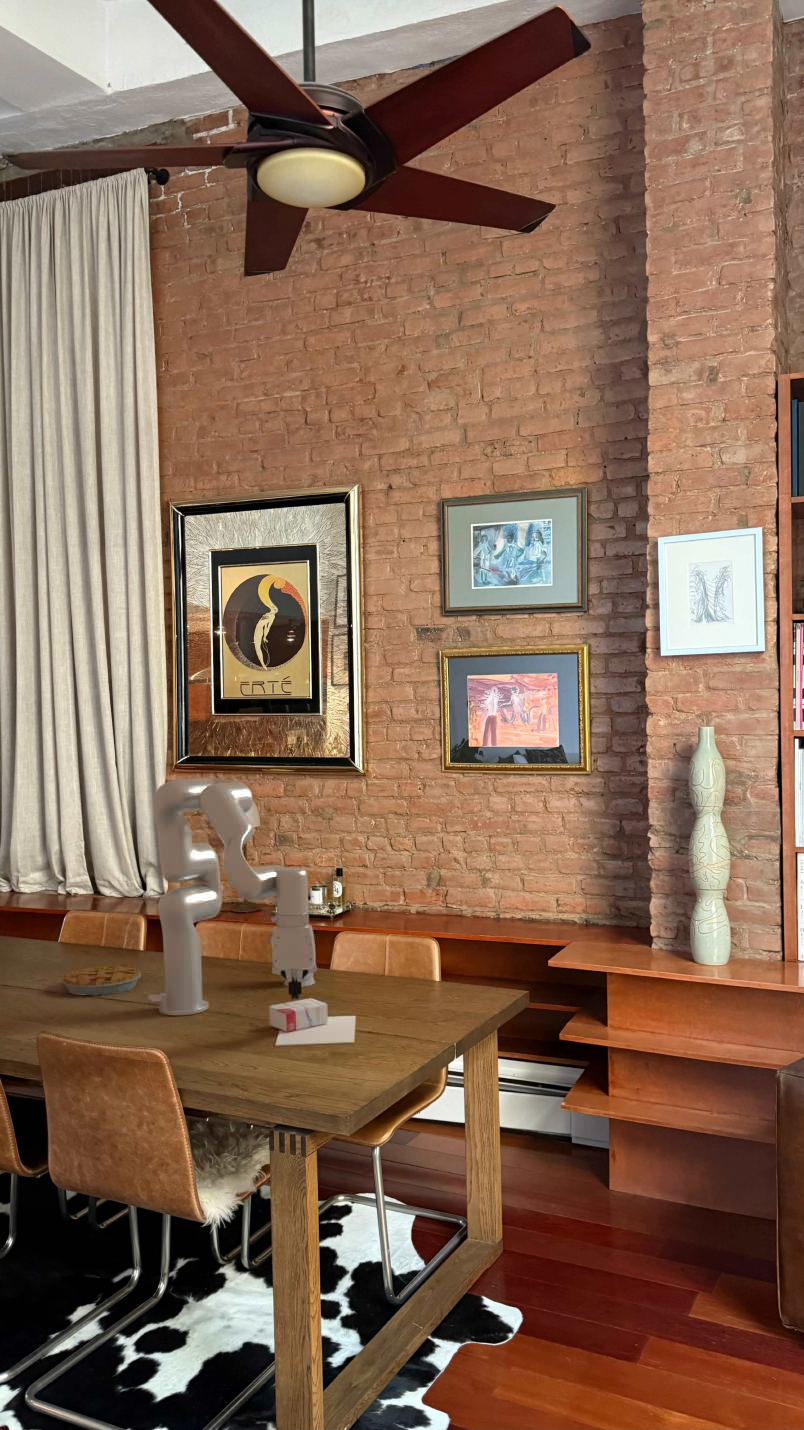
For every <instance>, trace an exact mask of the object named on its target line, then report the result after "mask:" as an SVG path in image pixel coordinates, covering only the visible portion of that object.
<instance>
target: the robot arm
mask: <svg viewBox="0 0 804 1430" xmlns="http://www.w3.org/2000/svg"><path fill="white" fill-rule="evenodd" d="M253 800H254V798H253V794H252V791H251V789H250V788H249V787H248V786H247V785H246V784H244V783H243V782H241V781H238V780H237V781H236V780H230V779H223V778H218V777H195V778H193V777H192V778H180V779H176V780H175V779H174V780H169V781H167V782H165V783H162V784H161V785H160V786H159V787H158V788H157V789H156V791H155V793H154V796H153V801H152V812H153V816H154V821H155V823H156V824H155V825H156V829H157V835H158V849H159V860H160V869H161V870H160V871H161V875H162V877H163V879H164V880H165V881H167V882H169V883H174V884H175V883H182V882H189V881H192V885H186V886H181V887H176V888H173V889H170V890H167V891H166V892H164V893H163V894H162V895H161V897H160V898H159V901H158V904H157V908H158V909H157V910H158V911H157V912H158V915H159V920H160V925H161V929H162V939H163V940H162V943H163V944H162V946H163V968H164V969H163V971H164V972H163V973H164V974H163V977H164V979H163V980H164V992H161V993H160V994H149V995H148V999H147V1001H148V1003H151V1005H152V1004H160V1005H159V1007H158V1010H159V1013H161V1014H162V1015H165V1016H166V1015H167V1016H189V1015H195V1014H199V1013H202V1012H204V1011H206V1010H208V1009H209V1007H210V1006H209V1005H210V1004H209V1002H208V1001H206V1000H204V999H203V979H202V977H203V976H202V947H201V946H202V945H201V944H202V943H201V937H200V934H199V932H198V930H197V928H196V927H195V925H194V924H195V923H196V922H201V921H204V920H210V919H213V918H215V917H216V916H217V915H218V914H219V913H220V911H221V909H222V905H223V897H222V896H223V894H222V892H223V891H222V882H221V873H220V871H221V870H220V862H219V858H218V855H217V853H216V850H215V849H214V848H213V847H212V846H211V845H210V844H209V843H205V842H195V843H193V836H192V828H191V825H190V823H189V821H188V819H187V818H186V816H185V815H184V813H186V812H197V811H202V812H203V813H204V815H205V817H206V819H207V820H208V821H209V823H210V825H211V826H212V828H213V829H214V831H215V832H216V834H217V835H218V837H219V839H220V841H222V843H223V846H224V847H223V854H222V858H223V867H224V871H225V875H226V878H227V879H228V881H229V882H230V883H231V885H232V887H233V889H234V890H235V892H237V894H238V895H239V896H240V897H241V898H243V899H244V900H247V901H251V902H253V901H258V900H263V899H267V898H273V897H276V914H275V915H274V916H271V917H270V922H271V923H275V925H276V926H274V927H273V933H272V934H273V941H272V949H271V955H272V956H271V961H272V962H271V963H272V969H271V973H272V974H274V975H278V976H282V977H283V978H284V979H286V980H287V982H288V986H287V988H288V996H289V995H291V997H290V998H291V1000H294V999H296V1000H299V997H300V995H302V993H303V992H302V990H303V989H302V988H303V987H302V986H301V981H302V979H303V978H304V977H305V976H306V975H307V974H310V973H313V974H314V973H316V972H317V971H318V967H317V963H316V954H317V953H316V944H315V935H314V930H313V926H312V924H310V920H309V919H310V918H309V917H310V916H309V913H310V912H309V887H308V886H309V885H308V881H309V880H308V872H307V871H306V869H304V868H301V867H287V866H283V865H279V864H272V865H268V866H260V867H254V868H252V867H251V866H250V864H249V863H248V861H247V860H246V857H245V855H244V853H243V849H242V848H243V846H244V845H246V843H248V841H250V839H252V837H253V836H254V833H255V826H254V825H253V823H252V821H251V820H250V818H249V816H248V815H247V814H246V813H247V812H249V811H250V809H252V806H253V802H254V801H253ZM292 970H298V973H297V977H296V980H294V977H293V975H292Z"/></svg>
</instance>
